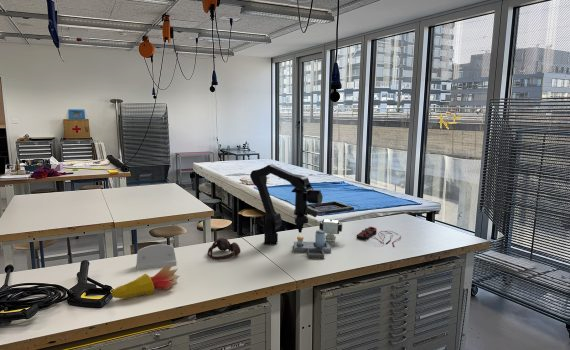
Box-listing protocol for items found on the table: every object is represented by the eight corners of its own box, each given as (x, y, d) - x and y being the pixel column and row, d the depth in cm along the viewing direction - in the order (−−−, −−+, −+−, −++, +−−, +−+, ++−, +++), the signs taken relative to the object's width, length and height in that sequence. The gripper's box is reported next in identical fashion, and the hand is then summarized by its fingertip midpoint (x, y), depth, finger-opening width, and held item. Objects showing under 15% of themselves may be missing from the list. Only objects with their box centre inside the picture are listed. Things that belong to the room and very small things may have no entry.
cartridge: (315, 250, 188) (316, 233, 187) (314, 247, 193) (315, 230, 192) (325, 250, 188) (325, 233, 187) (324, 247, 193) (324, 230, 192)
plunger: (296, 245, 189) (297, 238, 188) (296, 243, 192) (296, 236, 191) (303, 245, 189) (303, 238, 188) (303, 243, 192) (303, 236, 191)
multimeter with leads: (351, 232, 205) (367, 222, 226) (351, 240, 206) (367, 229, 227) (394, 240, 193) (407, 228, 214) (394, 249, 194) (407, 236, 215)
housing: (294, 252, 186) (294, 248, 185) (293, 245, 195) (293, 241, 195) (331, 252, 186) (331, 248, 185) (328, 245, 196) (328, 242, 195)
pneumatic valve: (340, 243, 200) (341, 221, 198) (318, 241, 203) (319, 219, 201) (342, 239, 205) (342, 218, 203) (320, 237, 208) (321, 216, 206)
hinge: (136, 270, 160) (135, 246, 162) (136, 270, 164) (135, 247, 166) (177, 265, 167) (175, 242, 168) (176, 265, 171) (174, 242, 173)
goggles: (243, 255, 179) (240, 236, 176) (222, 268, 171) (218, 249, 168) (223, 247, 190) (219, 229, 187) (202, 259, 181) (197, 241, 178)
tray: (308, 258, 178) (308, 254, 177) (307, 252, 185) (307, 249, 185) (324, 258, 178) (324, 254, 177) (322, 253, 185) (322, 249, 185)
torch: (114, 310, 135) (180, 283, 150) (118, 308, 129) (187, 281, 144) (107, 288, 136) (173, 263, 151) (111, 285, 130) (179, 260, 145)
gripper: (319, 206, 178) (318, 238, 180) (315, 198, 196) (314, 227, 199) (295, 206, 178) (294, 238, 180) (294, 197, 196) (293, 227, 198)
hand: (300, 232), depth 189 cm, fingers closed
